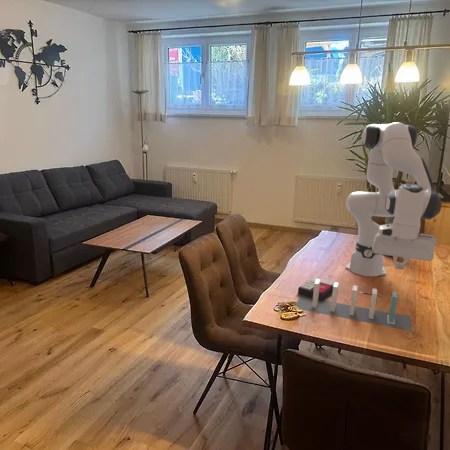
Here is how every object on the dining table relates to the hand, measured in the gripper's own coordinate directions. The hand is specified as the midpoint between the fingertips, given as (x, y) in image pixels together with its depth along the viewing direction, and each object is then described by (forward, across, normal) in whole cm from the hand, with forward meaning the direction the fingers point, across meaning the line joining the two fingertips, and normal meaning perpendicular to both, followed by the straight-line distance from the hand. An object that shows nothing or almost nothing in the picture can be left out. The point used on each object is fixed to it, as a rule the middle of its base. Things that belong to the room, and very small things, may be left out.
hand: (399, 268), depth 150 cm
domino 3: (+20, +14, 0) cm, 25 cm away
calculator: (+21, +29, -13) cm, 38 cm away
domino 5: (+20, 0, 0) cm, 20 cm away
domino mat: (+21, +14, 0) cm, 25 cm away
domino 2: (+20, +21, 0) cm, 29 cm away
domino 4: (+20, +7, 0) cm, 21 cm away
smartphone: (+22, +5, -18) cm, 29 cm away
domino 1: (+20, +28, 0) cm, 35 cm away
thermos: (+21, 0, -84) cm, 87 cm away
